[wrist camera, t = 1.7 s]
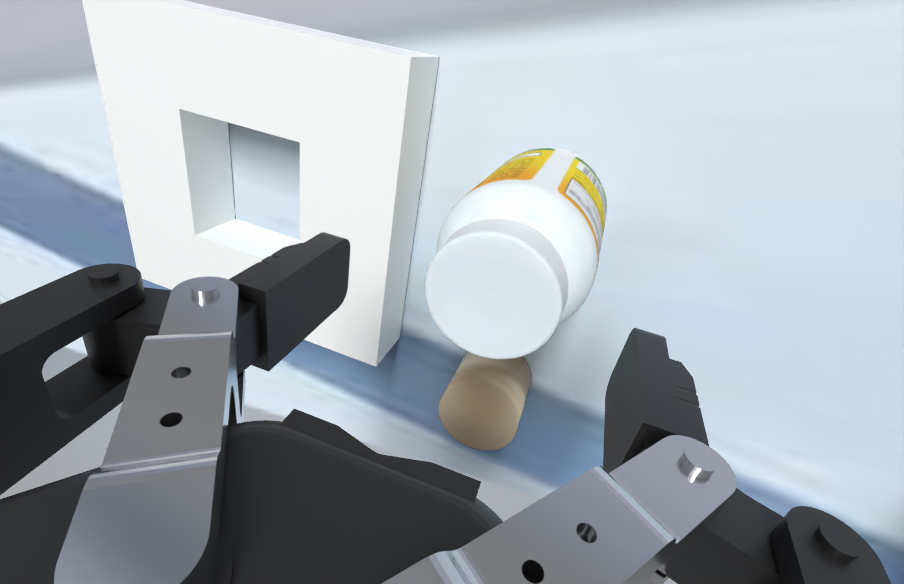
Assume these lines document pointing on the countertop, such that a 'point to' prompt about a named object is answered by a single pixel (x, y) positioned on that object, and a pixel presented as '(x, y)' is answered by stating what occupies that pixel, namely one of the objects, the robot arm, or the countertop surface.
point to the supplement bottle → (518, 254)
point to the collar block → (277, 113)
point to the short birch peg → (485, 401)
